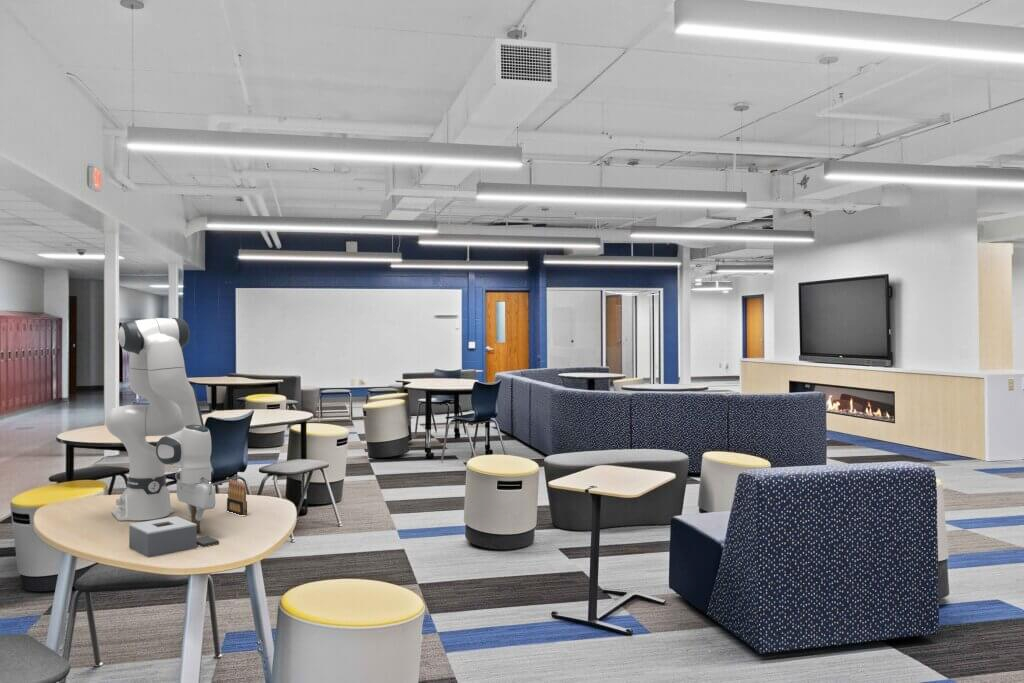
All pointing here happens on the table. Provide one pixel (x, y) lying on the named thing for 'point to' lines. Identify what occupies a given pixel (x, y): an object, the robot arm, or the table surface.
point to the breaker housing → (162, 536)
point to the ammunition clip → (237, 498)
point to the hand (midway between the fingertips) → (195, 519)
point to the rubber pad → (206, 541)
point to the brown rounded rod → (194, 519)
